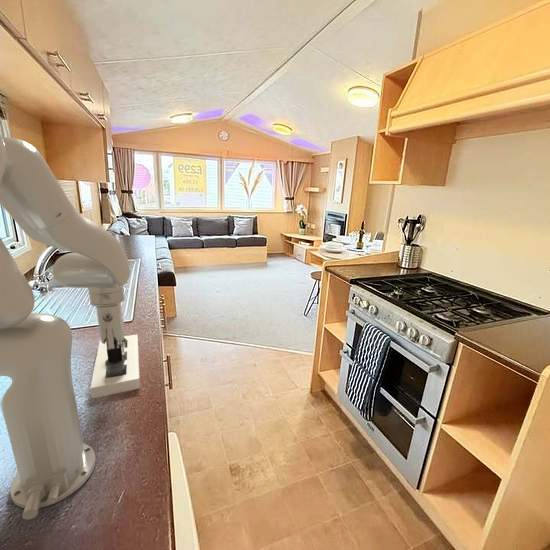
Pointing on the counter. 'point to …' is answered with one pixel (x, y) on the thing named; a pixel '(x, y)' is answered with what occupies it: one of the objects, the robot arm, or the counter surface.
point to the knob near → (115, 368)
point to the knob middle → (122, 349)
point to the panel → (113, 385)
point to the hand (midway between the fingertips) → (115, 359)
